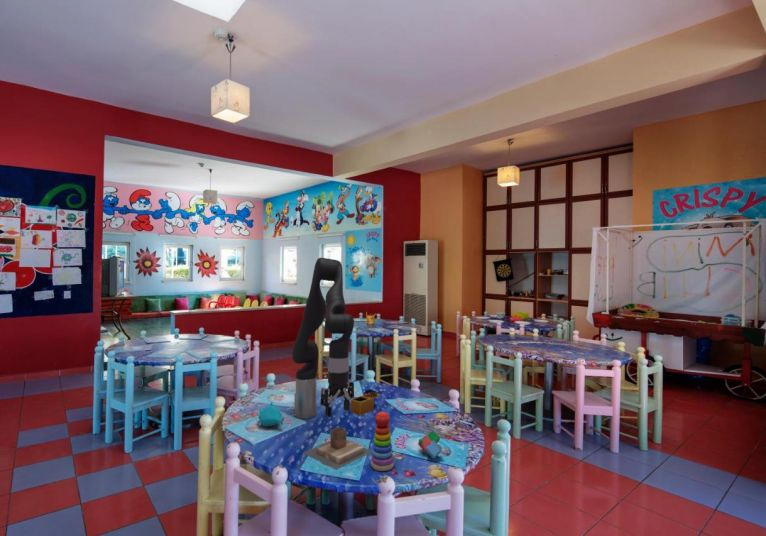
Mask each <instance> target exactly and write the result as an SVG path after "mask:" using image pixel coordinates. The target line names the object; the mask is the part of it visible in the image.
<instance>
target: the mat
mask: <svg viewBox="0 0 766 536" xmlns="http://www.w3.org/2000/svg"><path fill="white" fill-rule="evenodd" d="M330 442H331V440H329V441H328V442H325V443H322V444H320V445H318V446H316V447H313V448H311V449H309V450H306V451H304V452H302V454H304V455H306V456H307V457H310V458H312V459H314V460H316V461H317V462H320V463H322V464H324V465H325V466H327V467H330V468H332V469H333V470H339V469H341V468H343V467H345V466H346V465H349V464H351V463H353V462H355V461H357V460H359V459H361V458H363V457H365V456H367V455H369V454H372V450H371V449H368V448H366V447H364V453H362V454H360V455H358V456H356V457H354V458H352V459H350V460H348V461H346V462H343V463H341V464H337V463H335V462H333V461H331V460H329V459H327V458H325V457H323V456H321V455H319V454H317V448H318V447H320V446H323V445H325V444H327V443H330Z"/></svg>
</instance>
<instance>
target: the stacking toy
mask: <svg viewBox="0 0 766 536" xmlns="http://www.w3.org/2000/svg"><path fill="white" fill-rule="evenodd" d="M374 421H375V424H376V426H375V428H374V431H375V432H374V438H373V444H372V448H373V449H372V450H371V451H372V452H371V454H372V456H371V461H370V465H371V468H372V469H374V470H375V471H378V472H386V471H391V470H392V469H393V468H394V466H395V461H394V460H395V457H394V454H393V449H392V448H393V445H392V438H391V437H392V433H391V432H390V430H391V428H390V426H389V424H390V422H391V417H390V415H389V414H388V412H386V411H379V412H377V413H376V414H375V417H374Z"/></svg>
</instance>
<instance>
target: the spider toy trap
mask: <svg viewBox="0 0 766 536" xmlns="http://www.w3.org/2000/svg"><path fill="white" fill-rule="evenodd" d="M381 396H382V395H381V394H380V393H377V391H376V390H372V389H366V390H365V391H364V392H363V395H360V396H359V395H358V396H357V397H354V398H351V400H350V413H352V414H355V415H358V416H362V415H365V414H368V413H370V412H373V411H374V405H375V403H374V399H376V398H379V397H381Z"/></svg>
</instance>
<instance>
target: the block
mask: <svg viewBox="0 0 766 536" xmlns="http://www.w3.org/2000/svg"><path fill="white" fill-rule="evenodd" d="M346 440H347V429H345V428H342V427H340V426H338V427H335V428H333V429H330V441H331V447H332V448H335V449H337V450H339V449H341V448H344V447H346Z"/></svg>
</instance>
